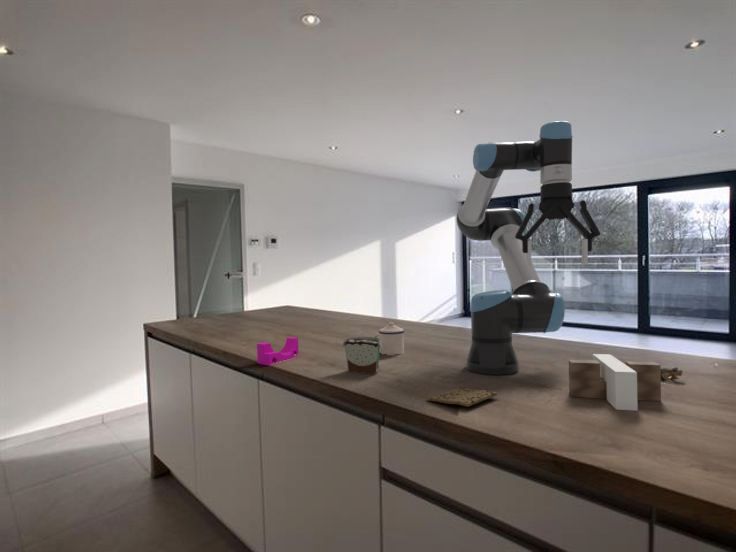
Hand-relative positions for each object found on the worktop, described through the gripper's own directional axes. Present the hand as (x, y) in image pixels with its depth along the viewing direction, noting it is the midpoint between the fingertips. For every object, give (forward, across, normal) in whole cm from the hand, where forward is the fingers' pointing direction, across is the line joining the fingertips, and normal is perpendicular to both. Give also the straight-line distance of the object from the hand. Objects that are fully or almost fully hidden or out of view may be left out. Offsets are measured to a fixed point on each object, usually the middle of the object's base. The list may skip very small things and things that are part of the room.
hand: (556, 265), depth 109 cm
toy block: (+32, -86, +11) cm, 92 cm away
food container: (+31, -53, +2) cm, 62 cm away
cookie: (+31, -24, -20) cm, 44 cm away
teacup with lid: (+32, -51, +27) cm, 66 cm away
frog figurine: (+31, +26, +5) cm, 41 cm away
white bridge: (+30, +9, -14) cm, 34 cm away
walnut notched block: (+30, +9, -14) cm, 34 cm away
